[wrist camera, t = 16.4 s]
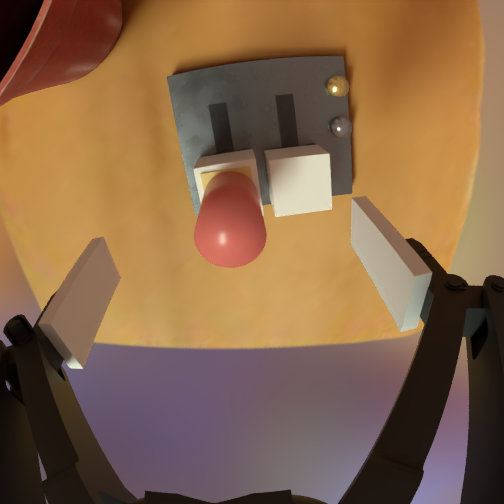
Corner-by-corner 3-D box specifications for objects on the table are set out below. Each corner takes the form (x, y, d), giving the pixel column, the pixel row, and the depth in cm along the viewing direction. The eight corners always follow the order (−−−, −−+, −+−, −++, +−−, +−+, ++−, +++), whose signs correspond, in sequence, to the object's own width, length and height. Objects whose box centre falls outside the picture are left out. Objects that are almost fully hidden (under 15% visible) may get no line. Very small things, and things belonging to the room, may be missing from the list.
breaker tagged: (198, 157, 27) (192, 169, 23) (252, 148, 27) (255, 159, 23) (208, 206, 29) (205, 225, 26) (259, 198, 29) (263, 216, 26)
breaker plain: (263, 150, 27) (268, 160, 23) (317, 144, 27) (329, 153, 23) (270, 200, 29) (275, 217, 26) (320, 193, 29) (332, 209, 26)
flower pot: (15, -2, 16) (-80, -12, 2) (144, -55, 16) (84, -130, 2) (21, 120, 24) (-84, 163, 10) (151, 80, 24) (66, 79, 10)
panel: (170, 77, 24) (165, 76, 22) (337, 57, 24) (346, 55, 22) (197, 209, 31) (194, 218, 29) (347, 188, 31) (354, 196, 29)
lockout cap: (198, 177, 24) (186, 211, 18) (253, 166, 23) (260, 197, 17) (210, 225, 26) (203, 272, 20) (261, 216, 26) (270, 261, 20)
